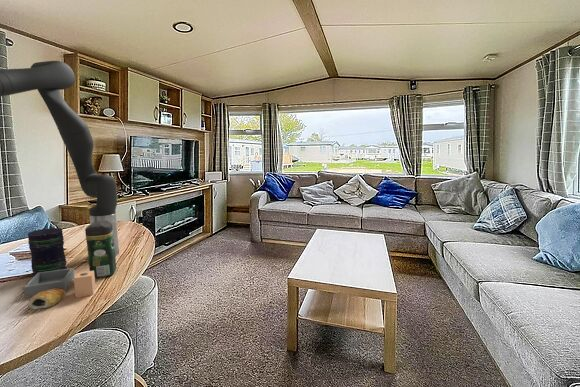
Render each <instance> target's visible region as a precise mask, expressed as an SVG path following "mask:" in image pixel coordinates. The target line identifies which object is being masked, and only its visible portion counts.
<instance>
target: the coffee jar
mask: <svg viewBox="0 0 580 387" xmlns="http://www.w3.org/2000/svg"><path fill="white" fill-rule="evenodd" d="M112 226H113V225H112V223H110V222H108V221H95V222H94V223H92V224H90V223H89V225H87V226H86V227H85V228H84V232H85V240H86V246H87V247H86V248H87V256H88V268H89V271H94V275H95V279H96V278H97V279H100V278H101V279H102V278H106V277H110V276H113V275H114V273H115V272H117V260H116V259H117V258H116V255H115V249H114V238H113V227H112Z"/></svg>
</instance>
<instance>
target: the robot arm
mask: <svg viewBox="0 0 580 387" xmlns="http://www.w3.org/2000/svg"><path fill="white" fill-rule="evenodd" d="M75 76H76V75H75V73H74V71H73V69H72V68H71V67H70V66H69V65H68V64H67V63H66V62H64V61H62V60H61V61H60V60H46V61H45V60H44V61H37V62H33V64H31V66H30V67H29V68H27V67H26V68H3V69H0V98H1V97H6V96H11V95H17V94H21V93H25V92H31V91H35V90H36V91H38V93H39V95H40V97H41V98H42V100H43V102H44V103H45V106H46V107H47V109H48V111H49V113H50V115H51V117H52V120H53V121H54V123H55V126H56V128H57V131H58V133H59V135H60V138H61V139H62V141H63V144H64V146H65V147H66V150H67V152H68V154H69V157H70V159H71V162H72V164H73V166H74V170H75V172H76V175H77V179H78V181H79V186H80V188H81V190H82V192H83V193H84V194H85V196H87V197H91V198H96V204H95V205H93V206H91V207H89V209H88V214H89V225H90V224H92V223H94V222H95V221H108V222H110V223H112V225H113V226H112V227H113V238H114V249H115V256H118V254H120V248H119V236H118V234H119V233H118V227H117V226H118V225H117V223H118V222H117V215H116V211H117V210H116V209H117V204H118V197H117V196H118V195H117V194H118V193H117V189H118V188H117V183H116V180H115V178H114V177H112V176H111V175H108V174H98V173H97V171H96V169H95V167H94V165H93V164H94V163H93V159H92V158H93V152H94V144H95V143H94V140H93V136H92V133H91V130H90V128H89V126H88V124H87V123H86V122H85V121H84V120H83V118H82V117H81V116H80V115H79V114H78V113H76V111H74V109H72V108H71V107H70V106H69V105H68V104H67V102H66V101H65V99H64V96H63V95H62V93H61V91H62V90H67V89H70V88H72V87H73V85H74V84H75V81H76V77H75Z"/></svg>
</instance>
